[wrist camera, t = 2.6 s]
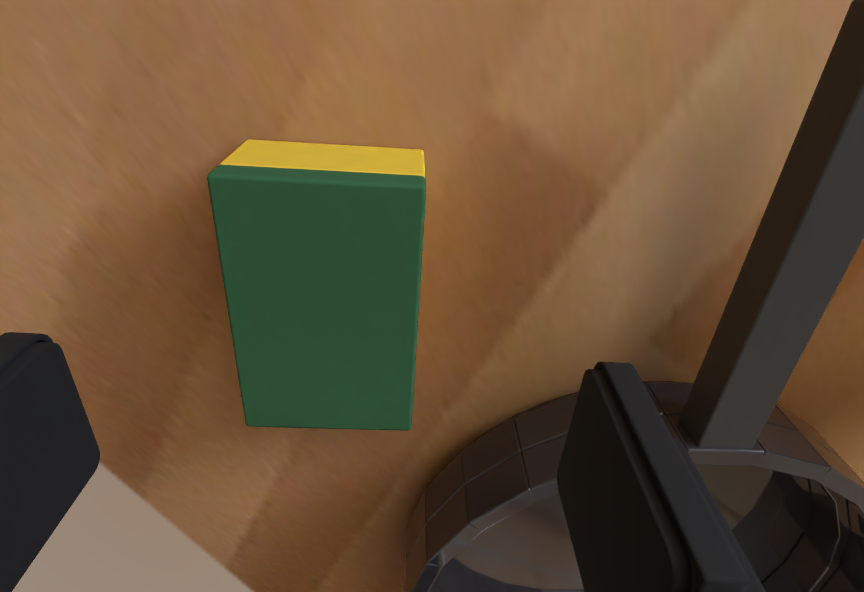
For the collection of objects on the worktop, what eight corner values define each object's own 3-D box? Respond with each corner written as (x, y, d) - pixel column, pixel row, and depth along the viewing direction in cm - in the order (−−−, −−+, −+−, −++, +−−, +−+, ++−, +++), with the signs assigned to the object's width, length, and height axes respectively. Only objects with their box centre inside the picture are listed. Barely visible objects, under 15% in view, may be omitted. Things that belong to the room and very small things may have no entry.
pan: (398, 640, 25) (396, 727, 22) (416, 362, 17) (416, 443, 14) (734, 641, 26) (775, 724, 23) (914, 379, 18) (1016, 457, 15)
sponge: (271, 359, 17) (245, 427, 14) (246, 138, 13) (204, 173, 10) (411, 364, 17) (411, 431, 14) (424, 148, 13) (426, 186, 11)
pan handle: (676, 421, 15) (695, 452, 14) (851, -2, 10) (901, -2, 9) (728, 423, 16) (750, 453, 14) (928, 5, 10) (988, 6, 9)
